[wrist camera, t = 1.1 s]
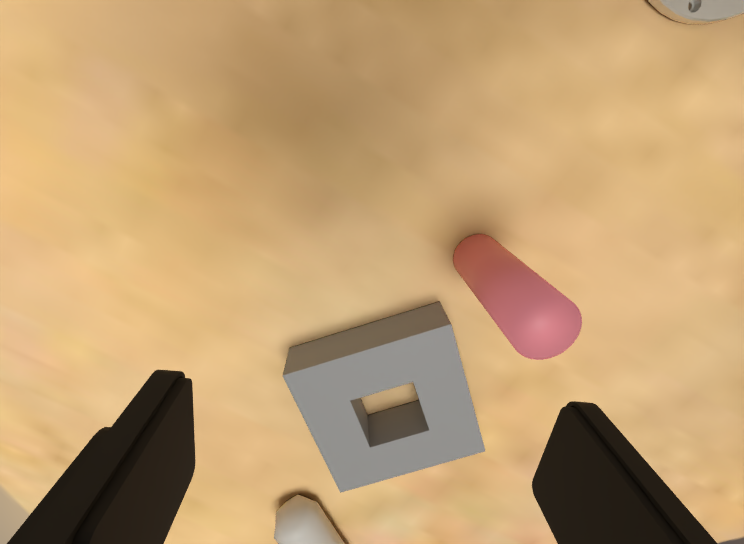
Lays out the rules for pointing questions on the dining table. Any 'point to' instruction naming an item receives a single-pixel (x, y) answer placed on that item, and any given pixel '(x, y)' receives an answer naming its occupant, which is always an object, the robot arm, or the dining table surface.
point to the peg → (518, 298)
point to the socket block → (378, 373)
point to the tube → (304, 523)
